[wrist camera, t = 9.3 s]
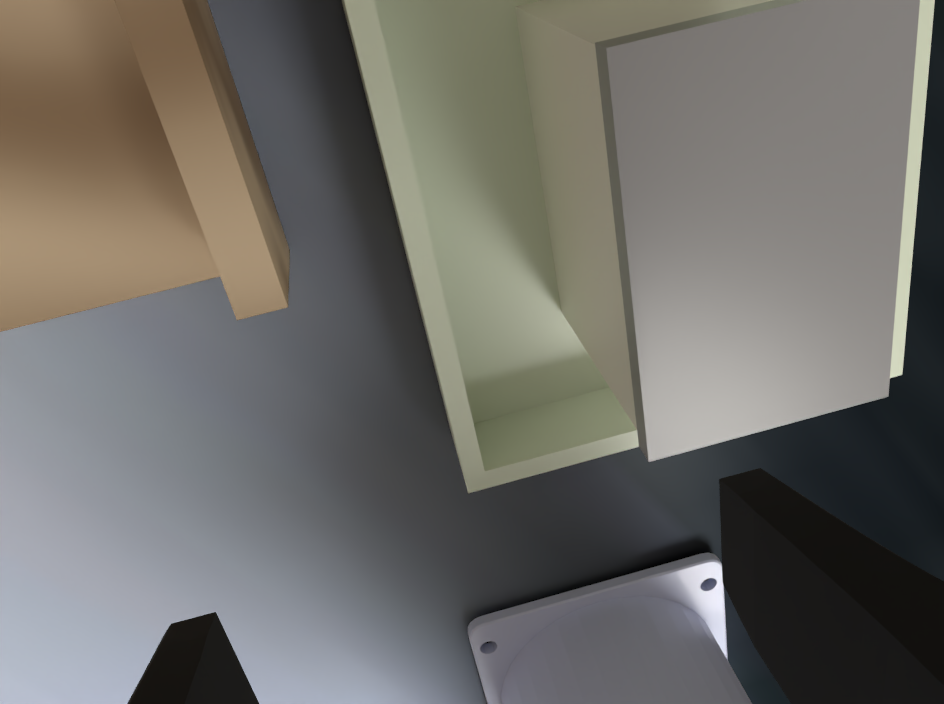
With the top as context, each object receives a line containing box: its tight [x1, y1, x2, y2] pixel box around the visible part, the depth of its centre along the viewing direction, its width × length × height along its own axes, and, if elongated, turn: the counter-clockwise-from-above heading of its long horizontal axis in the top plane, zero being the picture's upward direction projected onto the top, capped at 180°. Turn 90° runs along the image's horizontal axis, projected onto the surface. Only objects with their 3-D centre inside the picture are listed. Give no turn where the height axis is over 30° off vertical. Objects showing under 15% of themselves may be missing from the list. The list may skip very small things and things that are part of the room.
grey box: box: [515, 0, 920, 462], centre depth 16 cm, size 8×5×6 cm, turn 11°
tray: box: [342, 0, 935, 493], centre depth 18 cm, size 13×11×2 cm
